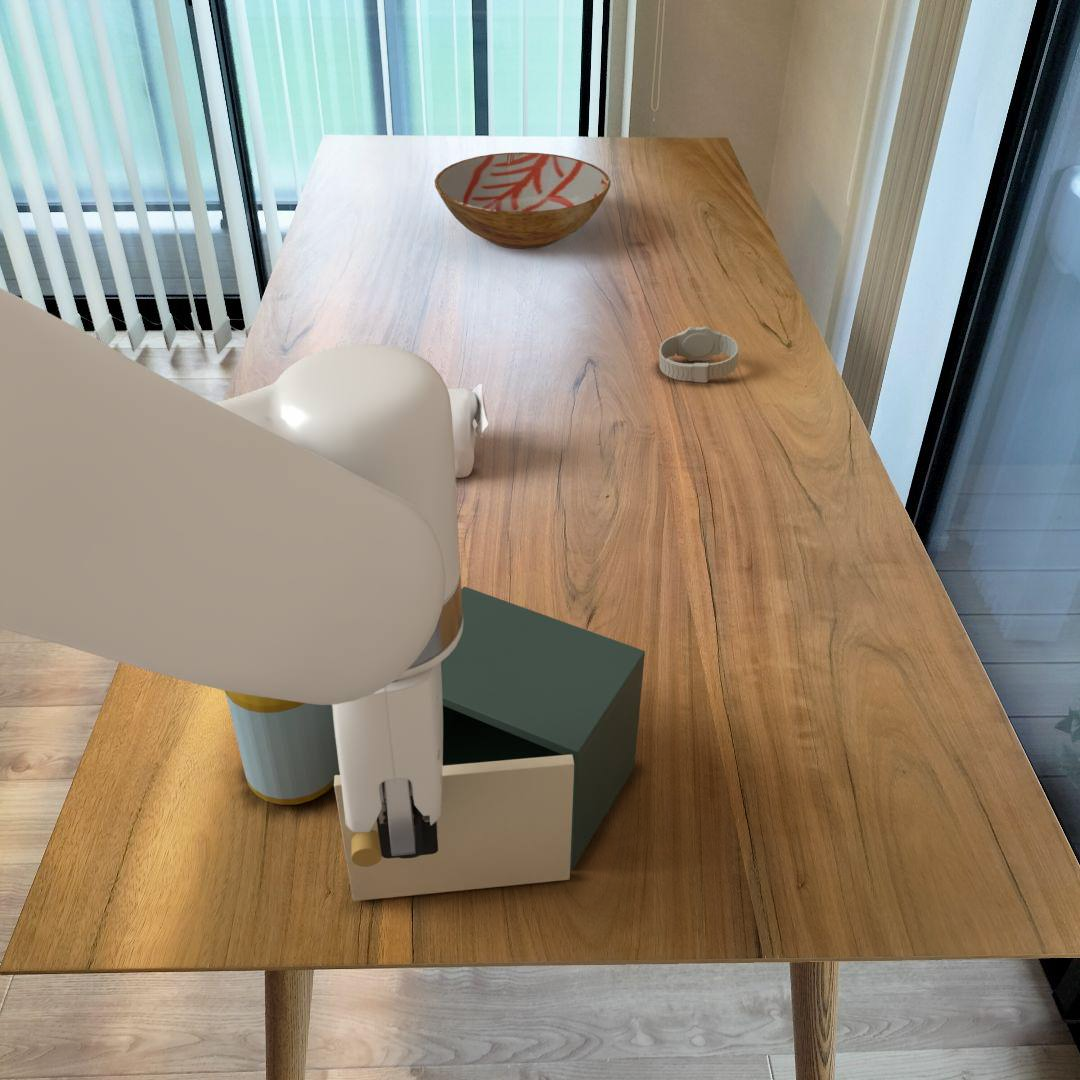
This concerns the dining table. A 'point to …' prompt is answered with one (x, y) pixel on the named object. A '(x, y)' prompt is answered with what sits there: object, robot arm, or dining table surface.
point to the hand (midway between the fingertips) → (410, 844)
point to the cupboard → (543, 701)
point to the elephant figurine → (466, 425)
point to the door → (477, 832)
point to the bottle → (285, 747)
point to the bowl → (522, 196)
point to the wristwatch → (698, 354)
